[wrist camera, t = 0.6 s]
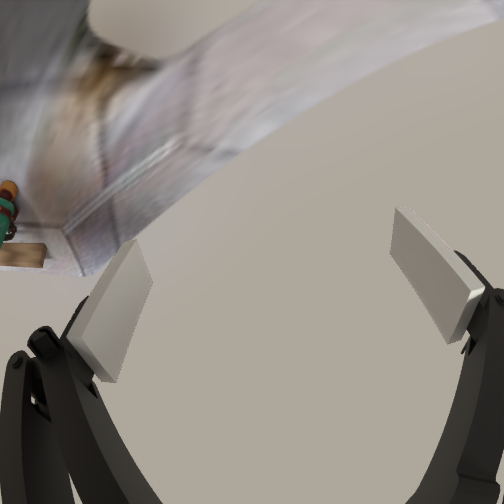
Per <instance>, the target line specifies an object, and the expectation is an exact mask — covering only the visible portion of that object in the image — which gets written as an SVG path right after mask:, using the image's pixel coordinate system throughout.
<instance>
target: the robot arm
mask: <svg viewBox="0 0 504 504" xmlns="http://www.w3.org/2000/svg"><path fill="white" fill-rule="evenodd" d="M390 254H391V256H392V257H393V259H394V260H395V262H396V263H397V264H398V266H399V267H400V269H401V270H402V271H403V273H404V275H405V276H406V278H407V279H408V281H409V282H410V283H411V285H412V287H413V288H414V289H415V291H416V293H417V294H418V296H419V298H420V299H421V301H422V302H423V304H424V305H425V307H426V309H427V310H428V312H429V314H430V315H431V317H432V318H433V320H434V322H435V324H436V325H437V327H438V329H439V331H440V332H441V334H442V336H443V338H444V339H445V341H446V343H447V344H450V343H453V342H456V341H459V340H461V339H462V337H463V335H464V333H465V331H466V329H467V331H468V332H469V334H470V337H469V339H468V341H467V342H466V344H465V346H464V348H463V349H462V352H461V354H463V353H464V351H465V350H466V351H465V356H464V361H463V366H462V370H461V375H460V379H459V383H458V386H457V390H456V393H455V397H454V401H453V404H452V407H451V410H450V413H449V416H448V419H447V422H446V425H445V428H444V431H443V433H442V436H441V439H440V441H439V444H438V446H437V449H436V451H435V453H434V456H433V458H432V460H431V462H430V465H429V467H428V469H427V471H426V473H425V475H424V477H423V479H422V481H421V483H420V485H419V487H418V489H417V490H416V492H415V493H414V494H413V496H412V497H411V498H410V499H409V500H408V501H407V502H406V503H405V504H496V503H497V500H498V498H499V494H500V485H499V484H498V483H497V482H496V473H497V470H498V467H499V464H500V460H501V457H502V454H503V450H504V289H500V288H496V289H494V288H493V287H492V286H491V285H490V283H489V282H488V281H487V280H486V279H485V278H484V276H483V275H482V274H481V273H480V272H479V271H478V270H477V269H476V267H475V266H474V265H472V264H471V262H470V261H469V260H468V259H467V258H466V257H465V256H464V255H462V254H461V253H459V252H458V251H453V250H452V249H451V248H450V247H449V246H448V245H447V244H446V243H445V242H444V241H443V240H442V239H441V238H440V237H439V236H438V235H437V234H436V233H435V232H434V231H433V230H432V229H431V228H430V227H429V226H428V225H427V224H426V223H425V222H424V221H423V220H422V219H421V218H420V217H419V216H418V215H416V214H415V213H414V212H413V211H412V210H411V209H410V208H409V207H396V208H395V216H394V225H393V234H392V242H391V250H390ZM152 284H153V281H152V279H151V276H150V273H149V271H148V268H147V266H146V263H145V261H144V258H143V255H142V253H141V250H140V247H139V245H138V242H137V240H131V241H124V242H123V244H122V245H121V247H120V248H119V250H118V251H117V253H116V254H115V256H114V257H113V259H112V260H111V262H110V263H109V265H108V266H107V268H106V269H105V271H104V273H103V274H102V276H101V277H100V279H99V281H98V282H97V284H96V285H95V287H94V289H93V290H92V292H91V294H90V296H87V297H86V298H85V299H84V300H83V301H82V302H81V303H80V304H79V305H78V307H77V309H76V310H75V313H74V314H73V316H72V318H71V320H70V321H69V323H68V324H67V326H66V328H65V330H64V332H63V334H62V335H61V337H60V339H59V338H58V337H57V336H56V334H55V333H54V331H53V330H52V328H51V327H49V326H43V327H41V328H38V329H37V330H36V331H34V332H33V334H32V335H31V336H30V337H29V340H28V344H27V346H28V347H29V348H30V350H31V351H32V352H33V353H34V355H35V356H36V357H33V358H30V357H29V356H28V355H27V353H26V352H25V351H23V350H21V351H18V352H16V353H14V354H13V355H12V356H11V357H10V359H9V361H8V363H7V367H6V372H5V379H4V385H3V392H2V401H1V411H0V487H1V496H2V504H75V502H74V497H73V493H72V488H71V483H70V478H69V474H70V476H71V479H72V481H73V484H74V486H75V488H76V490H77V493H78V495H79V497H80V499H81V501H82V503H83V504H163V503H162V502H161V501H160V499H159V498H158V497H157V495H156V494H155V492H154V491H153V489H152V488H151V487H150V485H149V484H148V482H147V481H146V479H145V478H144V476H143V475H142V473H141V471H140V470H139V468H138V467H137V465H136V463H135V462H134V460H133V458H132V457H131V455H130V453H129V452H128V450H127V448H126V446H125V444H124V443H123V441H122V439H121V437H120V435H119V433H118V431H117V429H116V427H115V425H114V424H113V422H112V420H111V418H110V415H109V413H108V411H107V409H106V407H105V405H104V403H103V400H102V398H101V396H100V394H99V391H98V389H97V387H96V384H95V383H94V382H93V381H92V378H93V375H94V373H95V374H96V376H97V377H98V378H99V379H100V380H101V382H111V383H116V382H117V379H118V376H119V373H120V370H121V367H122V364H123V361H124V358H125V355H126V352H127V349H128V346H129V343H130V341H131V338H132V335H133V332H134V330H135V327H136V324H137V322H138V319H139V317H140V314H141V311H142V309H143V306H144V303H145V301H146V299H147V296H148V294H149V291H150V289H151V286H152ZM31 396H32V397H33V398H34V399H35V404H33V403H32V402H31ZM502 504H504V496H503V502H502Z"/></svg>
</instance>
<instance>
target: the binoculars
mask: <svg viewBox="0 0 504 504" xmlns="http://www.w3.org/2000/svg"><path fill="white" fill-rule="evenodd" d="M16 194H17V188H16V186H15V184H14V183H12V182H10V181H4V182H2V184H1V186H0V249H1V247H2V244H3V241H8V240H12V239H13V238H14V236H15V233H16V232H17V227H16V226H15V225H14V221H15V220H16V218H17V215H18V213H19V211H18V209H17V208H16V207H15V206H14V205H13V204H12V203H11V202H12V201H13V200H14V198H15V196H16ZM7 230H8V233H9V234H6V232H7ZM10 232H12V233H11V234H10Z"/></svg>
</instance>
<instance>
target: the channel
mask: <svg viewBox="0 0 504 504" xmlns="http://www.w3.org/2000/svg"><path fill="white" fill-rule="evenodd" d="M46 251H47V248H46V246H45V244H38V243H3V244H2V247H1V249H0V266H15V267H34V268H43V263H44V259H45V255H46Z"/></svg>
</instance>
